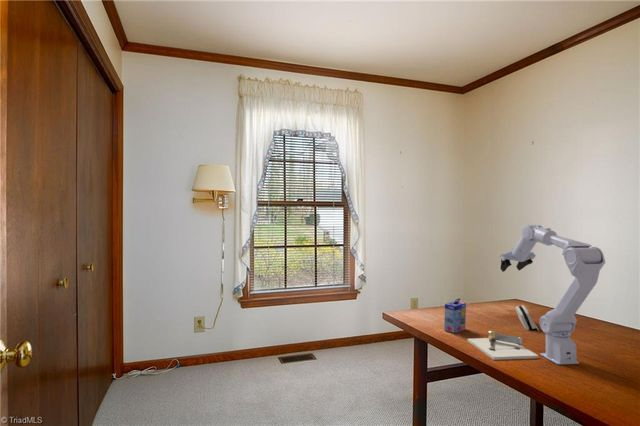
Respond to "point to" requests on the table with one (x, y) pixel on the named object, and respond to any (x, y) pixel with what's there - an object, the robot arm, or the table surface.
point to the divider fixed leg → (492, 345)
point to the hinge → (525, 317)
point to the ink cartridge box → (455, 316)
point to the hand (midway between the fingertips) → (510, 269)
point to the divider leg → (504, 337)
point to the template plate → (502, 349)
